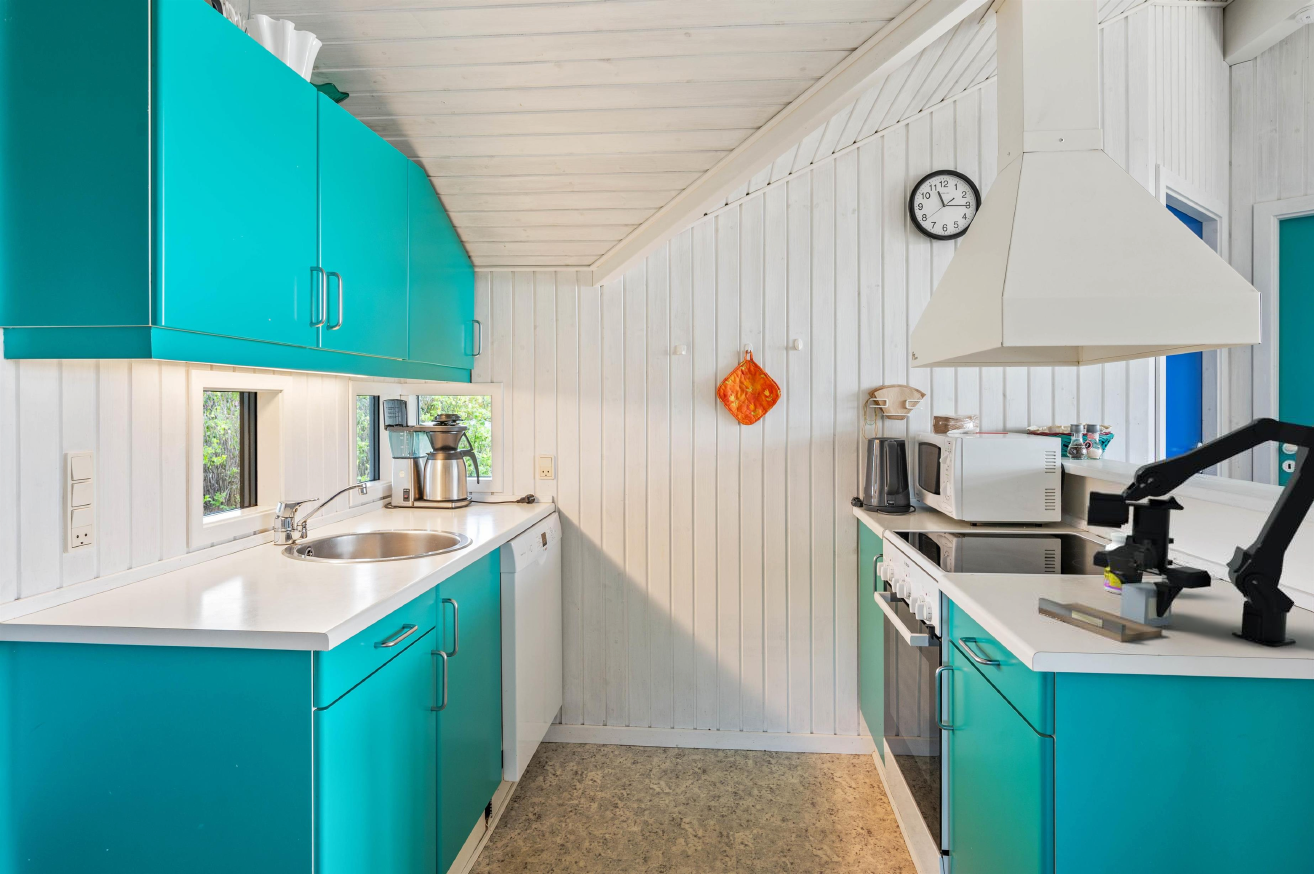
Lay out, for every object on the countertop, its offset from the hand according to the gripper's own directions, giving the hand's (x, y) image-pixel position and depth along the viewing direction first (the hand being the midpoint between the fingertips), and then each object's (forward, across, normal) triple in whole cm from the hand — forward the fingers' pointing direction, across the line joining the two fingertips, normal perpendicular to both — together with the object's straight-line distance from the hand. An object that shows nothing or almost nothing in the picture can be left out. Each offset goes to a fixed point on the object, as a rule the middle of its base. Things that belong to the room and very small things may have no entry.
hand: (1146, 612), depth 131 cm
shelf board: (+2, -2, -10) cm, 10 cm away
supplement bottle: (+2, -17, +16) cm, 23 cm away
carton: (+2, 0, 0) cm, 2 cm away
